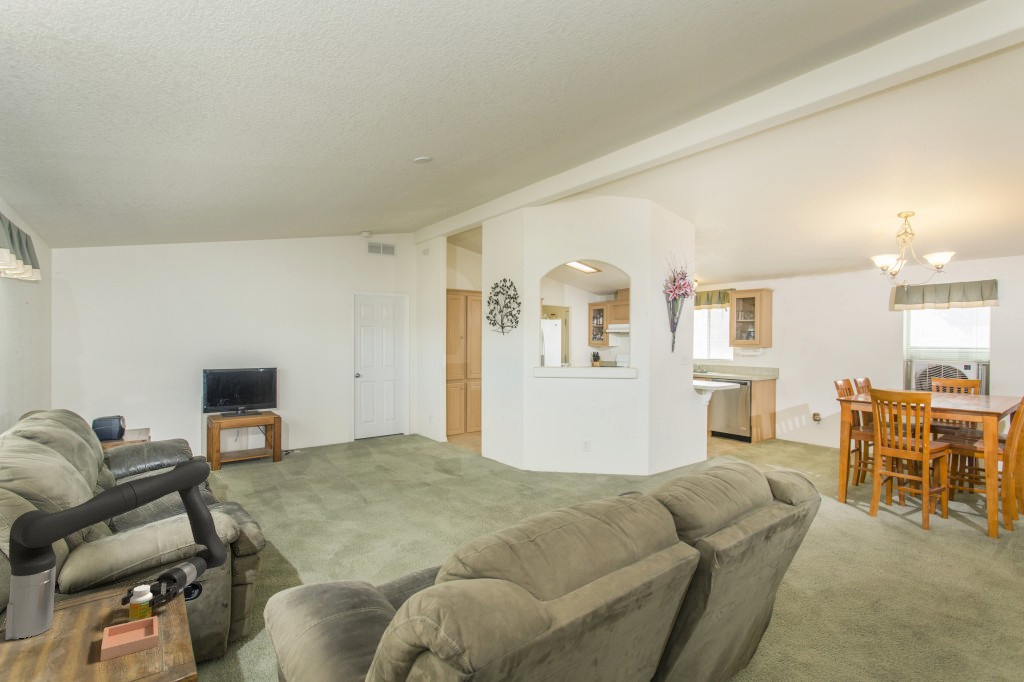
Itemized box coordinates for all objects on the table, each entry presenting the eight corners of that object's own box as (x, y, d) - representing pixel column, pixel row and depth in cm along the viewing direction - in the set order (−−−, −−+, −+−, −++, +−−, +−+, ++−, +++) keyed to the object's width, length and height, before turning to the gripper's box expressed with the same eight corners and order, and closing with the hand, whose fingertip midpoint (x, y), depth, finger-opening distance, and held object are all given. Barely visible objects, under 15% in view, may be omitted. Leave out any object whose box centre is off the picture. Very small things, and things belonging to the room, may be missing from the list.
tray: (100, 661, 127) (101, 649, 128) (103, 639, 137) (104, 628, 137) (157, 646, 135) (158, 635, 135) (156, 626, 144) (157, 615, 144)
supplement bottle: (139, 627, 144) (140, 593, 144) (123, 624, 145) (125, 590, 145) (155, 617, 149) (157, 584, 149) (141, 615, 150) (142, 582, 150)
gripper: (156, 565, 162) (114, 588, 146) (198, 568, 161) (159, 591, 145) (155, 588, 162) (112, 614, 145) (197, 591, 161) (158, 617, 145)
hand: (136, 603), depth 145 cm, fingers open, 8 cm apart
